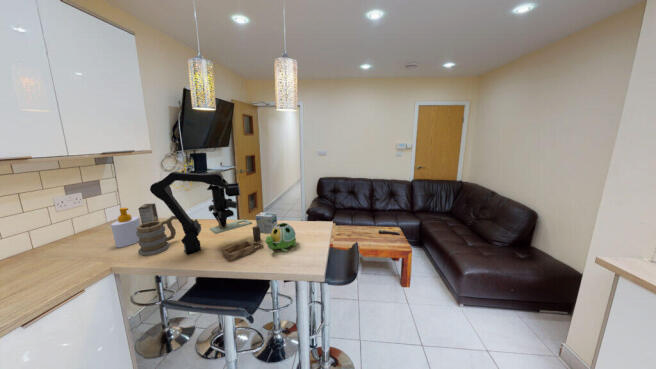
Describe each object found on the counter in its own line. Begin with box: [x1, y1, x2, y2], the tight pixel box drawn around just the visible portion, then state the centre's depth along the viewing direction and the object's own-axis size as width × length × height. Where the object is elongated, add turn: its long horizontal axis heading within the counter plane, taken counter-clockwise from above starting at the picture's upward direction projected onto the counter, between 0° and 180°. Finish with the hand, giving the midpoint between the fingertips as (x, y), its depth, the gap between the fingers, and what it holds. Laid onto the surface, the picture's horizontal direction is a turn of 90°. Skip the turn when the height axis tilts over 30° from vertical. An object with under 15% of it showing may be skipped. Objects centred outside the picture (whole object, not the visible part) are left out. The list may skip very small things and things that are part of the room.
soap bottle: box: [110, 207, 142, 248], centre depth 134 cm, size 13×8×20 cm, turn 161°
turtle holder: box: [264, 222, 297, 253], centre depth 123 cm, size 12×18×12 cm
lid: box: [209, 218, 253, 235], centre depth 128 cm, size 19×8×5 cm, turn 134°
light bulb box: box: [255, 211, 278, 234], centre depth 145 cm, size 11×7×11 cm, turn 74°
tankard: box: [136, 215, 178, 256], centre depth 128 cm, size 20×13×15 cm, turn 147°
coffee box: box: [138, 203, 160, 224], centre depth 152 cm, size 9×6×16 cm
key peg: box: [252, 225, 262, 243], centre depth 132 cm, size 3×3×8 cm
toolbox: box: [221, 240, 265, 263], centre depth 121 cm, size 18×8×4 cm, turn 134°
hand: (222, 226), depth 125 cm, fingers closed on lid, 3 cm apart
